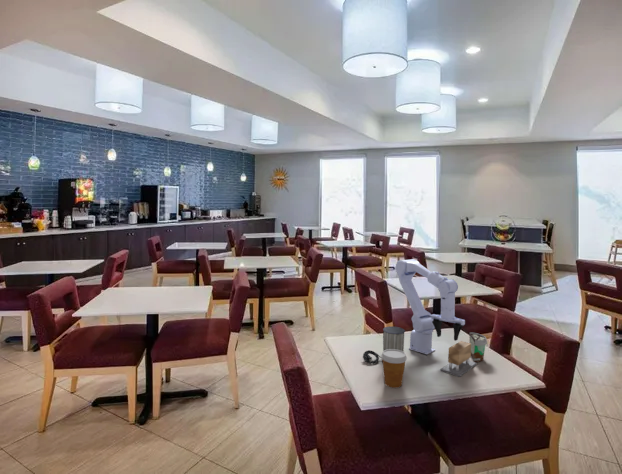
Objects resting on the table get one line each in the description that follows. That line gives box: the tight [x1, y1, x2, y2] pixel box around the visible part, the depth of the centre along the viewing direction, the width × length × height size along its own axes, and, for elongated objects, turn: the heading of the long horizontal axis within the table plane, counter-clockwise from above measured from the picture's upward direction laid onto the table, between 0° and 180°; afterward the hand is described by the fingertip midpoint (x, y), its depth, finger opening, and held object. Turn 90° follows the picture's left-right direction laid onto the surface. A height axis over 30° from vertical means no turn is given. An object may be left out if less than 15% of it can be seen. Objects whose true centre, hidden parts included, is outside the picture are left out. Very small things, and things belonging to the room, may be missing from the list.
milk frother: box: [362, 325, 406, 365], centre depth 166 cm, size 14×16×15 cm
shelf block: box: [447, 340, 471, 365], centre depth 162 cm, size 4×12×6 cm, turn 136°
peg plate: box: [440, 358, 478, 378], centre depth 162 cm, size 8×17×3 cm, turn 136°
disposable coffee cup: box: [380, 349, 408, 389], centre depth 146 cm, size 10×10×12 cm
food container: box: [468, 331, 488, 363], centre depth 172 cm, size 12×6×10 cm, turn 168°
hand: (447, 338), depth 169 cm, fingers open, 7 cm apart
